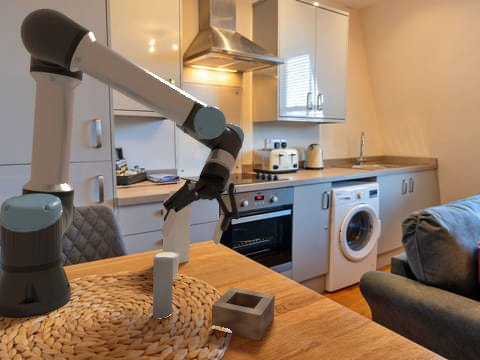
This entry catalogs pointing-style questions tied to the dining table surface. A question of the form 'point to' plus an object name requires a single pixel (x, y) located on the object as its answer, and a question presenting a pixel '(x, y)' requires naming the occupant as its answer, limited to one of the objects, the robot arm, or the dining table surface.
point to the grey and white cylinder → (171, 255)
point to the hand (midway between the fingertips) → (188, 237)
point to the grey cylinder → (162, 287)
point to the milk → (179, 233)
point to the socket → (244, 312)
